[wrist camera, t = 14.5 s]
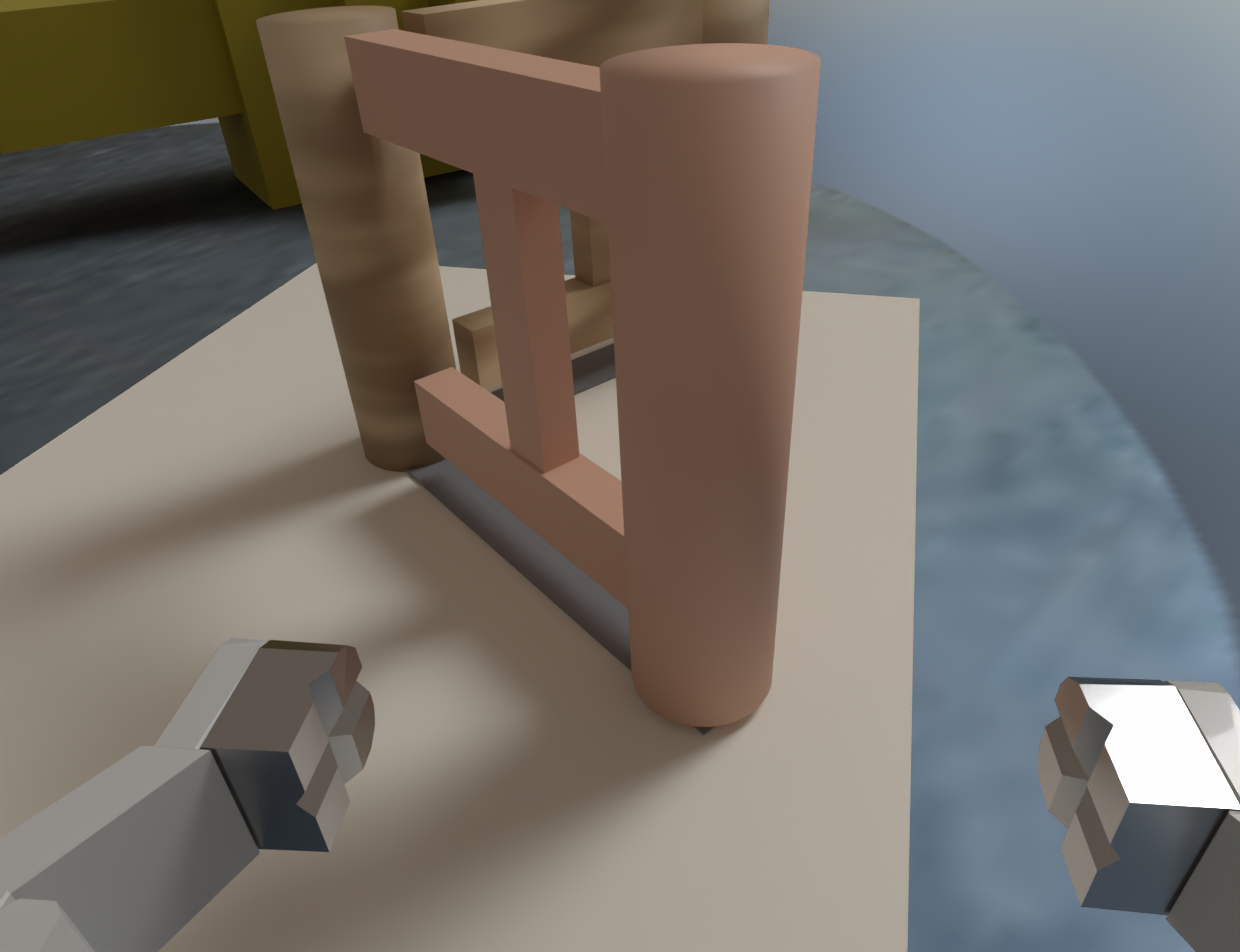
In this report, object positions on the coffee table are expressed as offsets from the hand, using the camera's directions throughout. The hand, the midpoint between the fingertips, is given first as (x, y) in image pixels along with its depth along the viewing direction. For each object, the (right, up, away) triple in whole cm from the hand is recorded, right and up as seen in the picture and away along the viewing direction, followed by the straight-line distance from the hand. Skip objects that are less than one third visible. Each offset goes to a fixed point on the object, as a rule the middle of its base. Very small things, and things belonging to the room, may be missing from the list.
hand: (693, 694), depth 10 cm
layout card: (-6, +2, +16) cm, 18 cm away
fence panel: (-2, 0, +12) cm, 12 cm away
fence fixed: (-2, +6, +20) cm, 21 cm away
